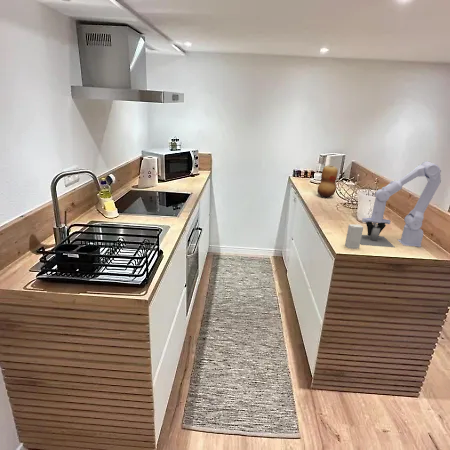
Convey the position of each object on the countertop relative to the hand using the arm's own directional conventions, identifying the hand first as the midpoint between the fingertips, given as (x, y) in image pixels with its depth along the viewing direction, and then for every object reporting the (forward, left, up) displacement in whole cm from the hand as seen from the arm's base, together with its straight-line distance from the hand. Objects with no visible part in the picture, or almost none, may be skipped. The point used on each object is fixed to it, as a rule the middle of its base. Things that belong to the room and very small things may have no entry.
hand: (373, 235), depth 191 cm
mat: (+1, +3, -2) cm, 4 cm away
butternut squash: (+4, -91, -2) cm, 91 cm away
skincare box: (+16, +15, -2) cm, 22 cm away
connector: (0, 0, -2) cm, 2 cm away
